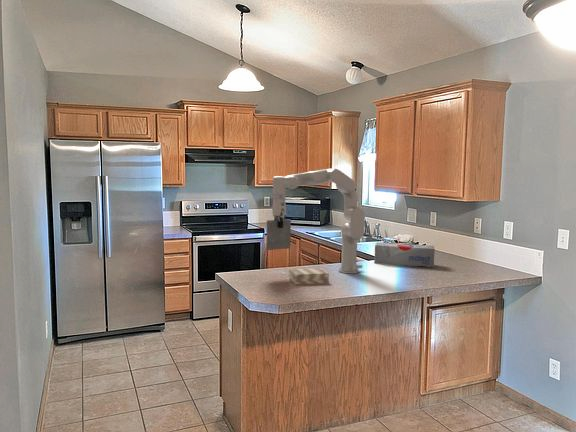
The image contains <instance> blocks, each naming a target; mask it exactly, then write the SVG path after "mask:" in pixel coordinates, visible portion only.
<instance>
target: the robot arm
mask: <svg viewBox="0 0 576 432" xmlns="http://www.w3.org/2000/svg"><path fill="white" fill-rule="evenodd" d="M328 183H333V184H334V185H335V188H336V189H337V190H338V191H339V192H340V193H341V194H342V197H343V202H344V203H343V216H344V219H345V220H348V221H350V222H346V223H344V224H343V225H342V227H341V231H340V233H341V242H342V243H341V263H340V265H341V266H340V268H339V269H338V272H339V273H341V274H348V275H349V274H357V273H359V269H362V268H363V265H362V264H357V256H358V251H357V250H358V240H361V239H362V238H363V237H364V235H365V229H366V227H365V226H366V225H365V223H366V215H365V211H364V210H363V209H362V207H360V206H359V205H358V201H359V200H358V199H359V198H358V194H357V191H356V189H357V183H356V182H355V180H353V178H351V177H350V176H348V175H347V174H345V173H344V172H343V171H342V170H340V169H338V168H326V169H317V170H312V171H308V172H301V173H296V174H295V173H294V174H289V175H285V176H283V175H282V176H281V175H280V176H279V175H276V176H275V175H274V176H273V178H272V206H271V207H272V208H271V209H272V210H271V211H272V216H273V220H276V217H275V216H278V228H283V219H286V218H285V217H287V204H286V189H290V190H292V189H296V188H298V187H300V186H311V187H312V186H316V185H317V186H318V185H323V184H328ZM280 217H281V218H280Z"/></svg>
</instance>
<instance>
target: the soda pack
mask: <svg viewBox="0 0 576 432" xmlns="http://www.w3.org/2000/svg"><path fill="white" fill-rule="evenodd" d="M373 258H374V259H373V260H374V261H373V262H374V264H377V265H378V264H380V265H394V266H404V265H408V266H409V267H417V266H428V267H427V268H431V267H433V268H434V267H435V266H434V265H435V246H434V245H425V244H424V245H423V244H409V243H408V244H406V243H393V242H392V243H391V242H389V243H388V242H376V244H374V257H373ZM408 266H407V267H408Z"/></svg>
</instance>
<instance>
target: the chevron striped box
mask: <svg viewBox="0 0 576 432" xmlns="http://www.w3.org/2000/svg"><path fill="white" fill-rule="evenodd" d="M288 278H289V280H290V281H291V282H292V283H294V284H295V285H309V284H314V285H315V284H330V283H329V281H330V273H329V272H328V271H326V270H325V269H323V268H322V267H319V268H318V267H316V268H315V267H313V268H312V267H311V268H309V267H308V268H290V269H289V271H288Z"/></svg>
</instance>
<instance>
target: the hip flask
mask: <svg viewBox="0 0 576 432" xmlns="http://www.w3.org/2000/svg"><path fill="white" fill-rule="evenodd" d="M275 217H276V220H274V219H271V220H269V219H268V220H266V251H275V250H284V249H285V250H286V249H289V250H290V249H291V239H292V238H291V234H292V233H291V231H292V230H291V228H292V227H291V225H292V224H291V223H292V222H291V221H292V220H291V218H290V219H286V218H284V219H283V228H278V216H275ZM280 218H281V217H280Z"/></svg>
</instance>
